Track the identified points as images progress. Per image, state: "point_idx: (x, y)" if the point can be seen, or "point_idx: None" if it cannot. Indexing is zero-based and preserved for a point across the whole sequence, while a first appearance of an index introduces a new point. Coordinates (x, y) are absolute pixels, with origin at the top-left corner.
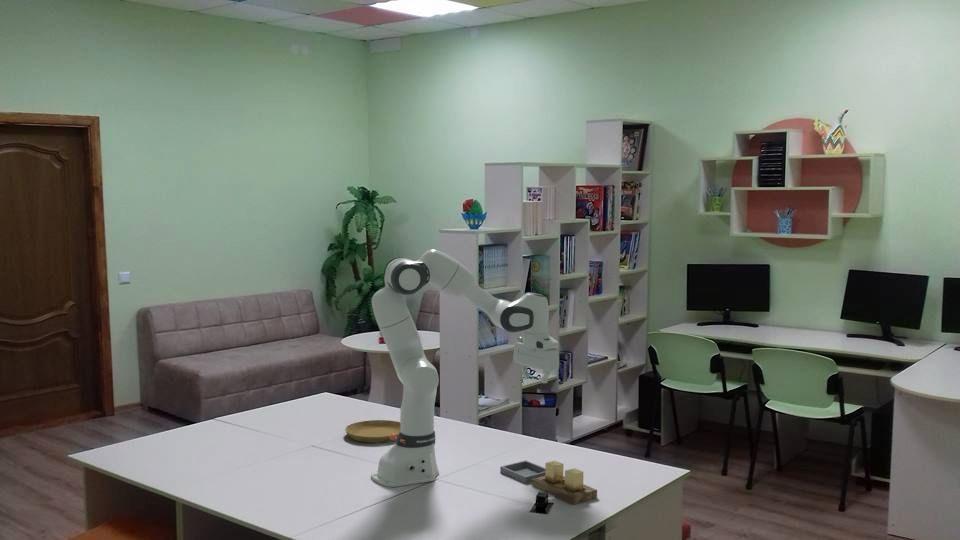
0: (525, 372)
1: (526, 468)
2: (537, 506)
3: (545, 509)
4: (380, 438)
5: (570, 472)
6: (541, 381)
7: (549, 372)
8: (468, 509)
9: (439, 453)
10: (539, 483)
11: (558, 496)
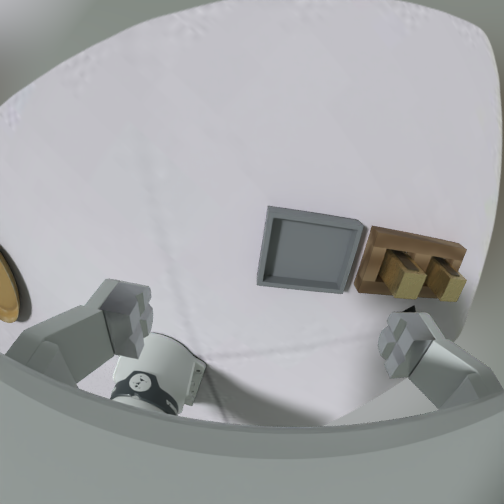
0: (106, 342)
1: (281, 219)
2: None
3: None
4: (19, 306)
5: (450, 300)
6: (385, 352)
7: (487, 383)
8: (325, 387)
9: (84, 271)
10: (377, 292)
11: None
